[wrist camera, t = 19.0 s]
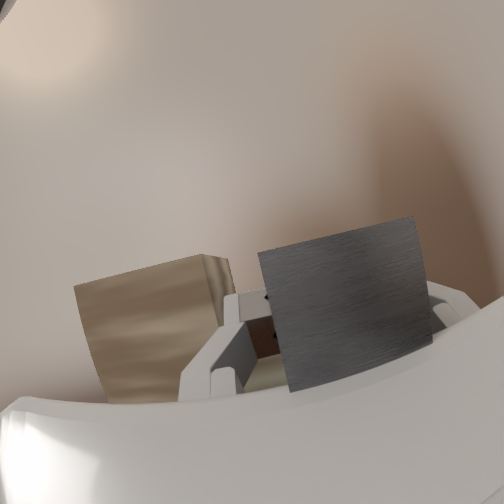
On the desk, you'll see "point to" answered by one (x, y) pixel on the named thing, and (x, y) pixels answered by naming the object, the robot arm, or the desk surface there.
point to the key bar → (348, 302)
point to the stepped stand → (159, 327)
